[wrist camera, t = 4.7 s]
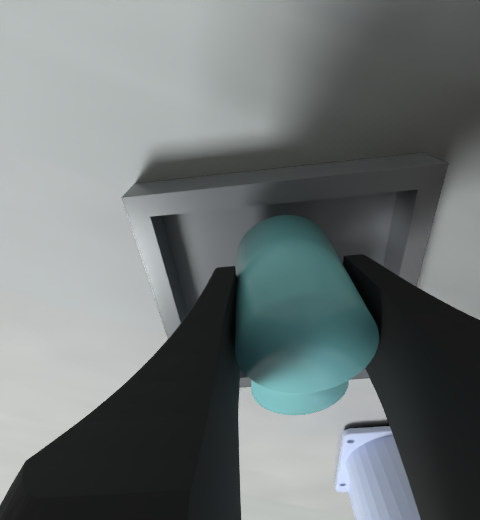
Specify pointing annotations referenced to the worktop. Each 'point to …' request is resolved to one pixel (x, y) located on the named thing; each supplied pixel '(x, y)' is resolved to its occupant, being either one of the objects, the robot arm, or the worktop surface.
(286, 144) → the worktop surface
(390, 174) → the tray
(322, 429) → the worktop surface
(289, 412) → the teal rounded cylinder
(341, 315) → the teal rounded capsule
